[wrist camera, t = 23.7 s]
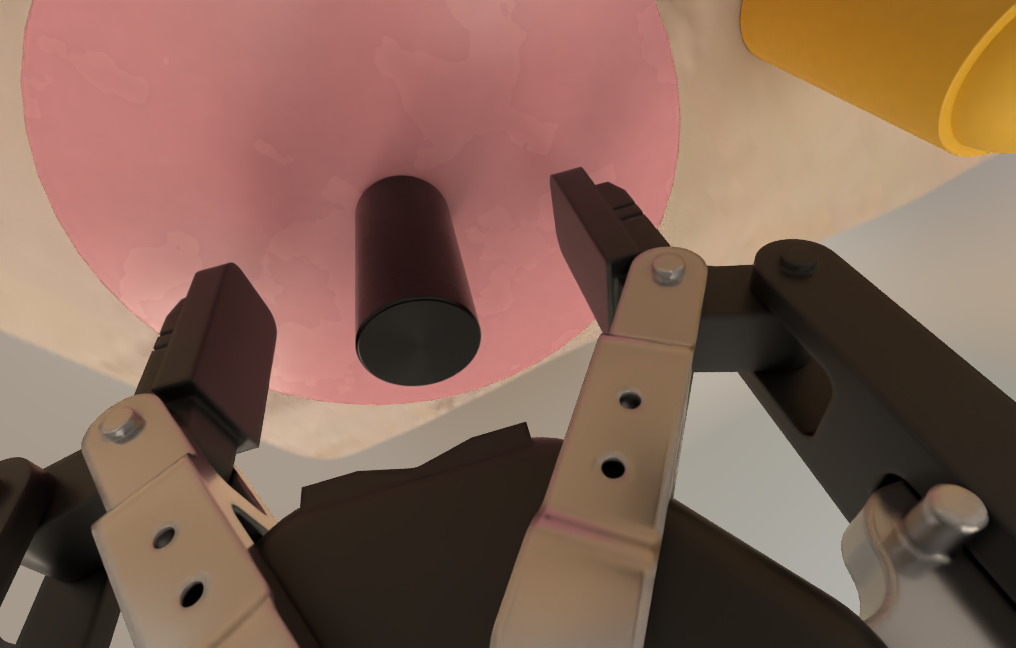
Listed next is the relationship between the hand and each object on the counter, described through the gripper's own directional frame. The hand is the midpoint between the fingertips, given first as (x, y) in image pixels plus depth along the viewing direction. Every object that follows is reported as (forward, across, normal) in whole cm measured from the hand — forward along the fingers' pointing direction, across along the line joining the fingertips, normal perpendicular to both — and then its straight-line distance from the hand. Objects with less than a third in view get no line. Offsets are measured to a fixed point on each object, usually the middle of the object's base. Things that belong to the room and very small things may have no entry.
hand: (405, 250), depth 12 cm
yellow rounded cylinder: (+10, -16, 0) cm, 19 cm away
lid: (+2, 0, 0) cm, 2 cm away
